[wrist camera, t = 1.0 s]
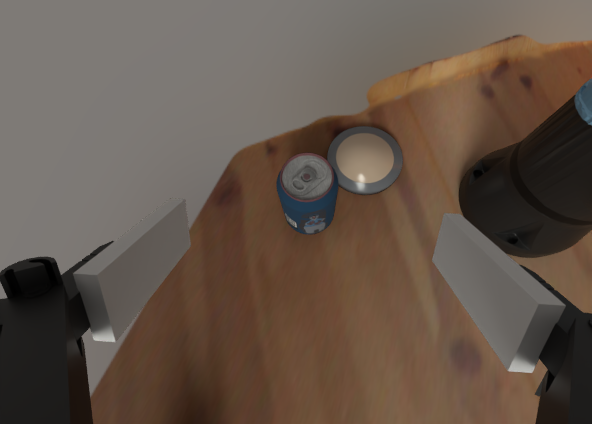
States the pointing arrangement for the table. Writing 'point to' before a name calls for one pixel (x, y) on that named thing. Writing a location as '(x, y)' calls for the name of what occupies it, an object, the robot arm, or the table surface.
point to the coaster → (365, 160)
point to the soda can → (308, 192)
